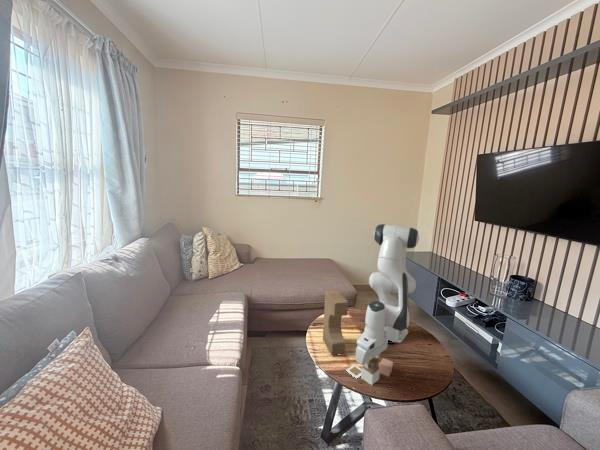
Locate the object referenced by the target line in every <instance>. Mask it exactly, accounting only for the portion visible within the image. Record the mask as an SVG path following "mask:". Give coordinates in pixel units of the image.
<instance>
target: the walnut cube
mask: <svg viewBox="0 0 600 450" xmlns="http://www.w3.org/2000/svg"><path fill="white" fill-rule="evenodd" d="M368 363H369V364H370V367H369V368H366V367H365V364H364V365H362V366H363V367H362V368H364V369H366V370H367V371H369V372H370V373H372V374H373V373H374V372H375V371H377V370H378V369H379V365H380V358H376V357H374V358H373V359H371V360H370V361H369V362H368Z"/></svg>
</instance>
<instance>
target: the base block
mask: <svg viewBox="0 0 600 450" xmlns="http://www.w3.org/2000/svg"><path fill="white" fill-rule="evenodd" d="M361 369H362V371H361V377H360V379H362V380H363V379H364V380H363V381H364V382H366V383H367V384H369V385H370V384H371V385H370V386H373V385H374V384H375V383H376V382H378V381H379V380H380V375H381V373H380V370H379V369H378V370H377V371H375V372H374V373H373V374H372V373H370V372H369V371H367V370H366V369H364V368H363V367H362V368H361Z"/></svg>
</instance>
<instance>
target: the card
mask: <svg viewBox="0 0 600 450" xmlns="http://www.w3.org/2000/svg"><path fill="white" fill-rule="evenodd" d="M345 370H346V371H347V372H348V373H349V374H348V373H347V372H346V371H345V372H346V373H347V374H348V375H350V374H351V375H352V376H351V375H350V376H351V377H353V378H354V377H355V378H356V379H355V378H354V379H355V380H358V379H360V378H361V377H360V376H361V371H362V368H360V367H359V366H357V365H356V364H352V365H351V366H350V367H348V368H346V369H345ZM357 378H358V379H357Z"/></svg>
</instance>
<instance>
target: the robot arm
mask: <svg viewBox="0 0 600 450" xmlns="http://www.w3.org/2000/svg"><path fill="white" fill-rule="evenodd" d="M373 238H374V241H375V243H377V244H378V246H380V248H379V252H378V255H377V256H378V257H377V258H378V259H377V264H376V265H377V271H374V272H372V273H371V274H370V275H369V277H368V284H369V286H370V288H371V289H372V290H373V291H374V292H375V293H376V294H377V295H378V296H377V297H378V299H379V300H378V301H377V300H374V301H370V302H368V305H367V307H366V311H365V319H364V322H365V326H364V329H363V330H364V331H363V332H362V334H361V335H360V336H359V337H358V339H357V340H356V345H357V346H356V349H355V361H356V363H357V364H359V365H361V366H363V365H364V364H365V367H366V368H369V367H370V364H369V363H368V362H369V361H370V360H371V359H373V358H374V357H376V358H378V359H380V358H379V357H380V355H381V354H382V353H383V352H384V351H385V350H387V348H388V343H389V342H388V340H390V341H392V342H391V343H398V344H400V343H402V342H403V341H404V339H405V338H406V337H407V335H408V334H409V330H408V329H407V328H409V324H410V323H411V322H410V318H411V317H410V313H409V311H410V310H409V294H412V293H414V292H415V290H416V289H417V288H416V287H417V283H416V280H415V278H414V277H413V276H412V275H411V274H410V273H409V272H408V270H407V267H406V259H407V258H406V256H407V249H414V248H415V247H417V245H418V243H419V241H420V235H419V231H418V229H416V228H414V227H407V226H403V225H398V224H397V225H396V224H394V225H393V224H385V223H384V224H383V223H381V224H378V225H377V226H375V229H374V231H373ZM391 293H395V294H398V298H396V297H395V296H393V294H391Z"/></svg>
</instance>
